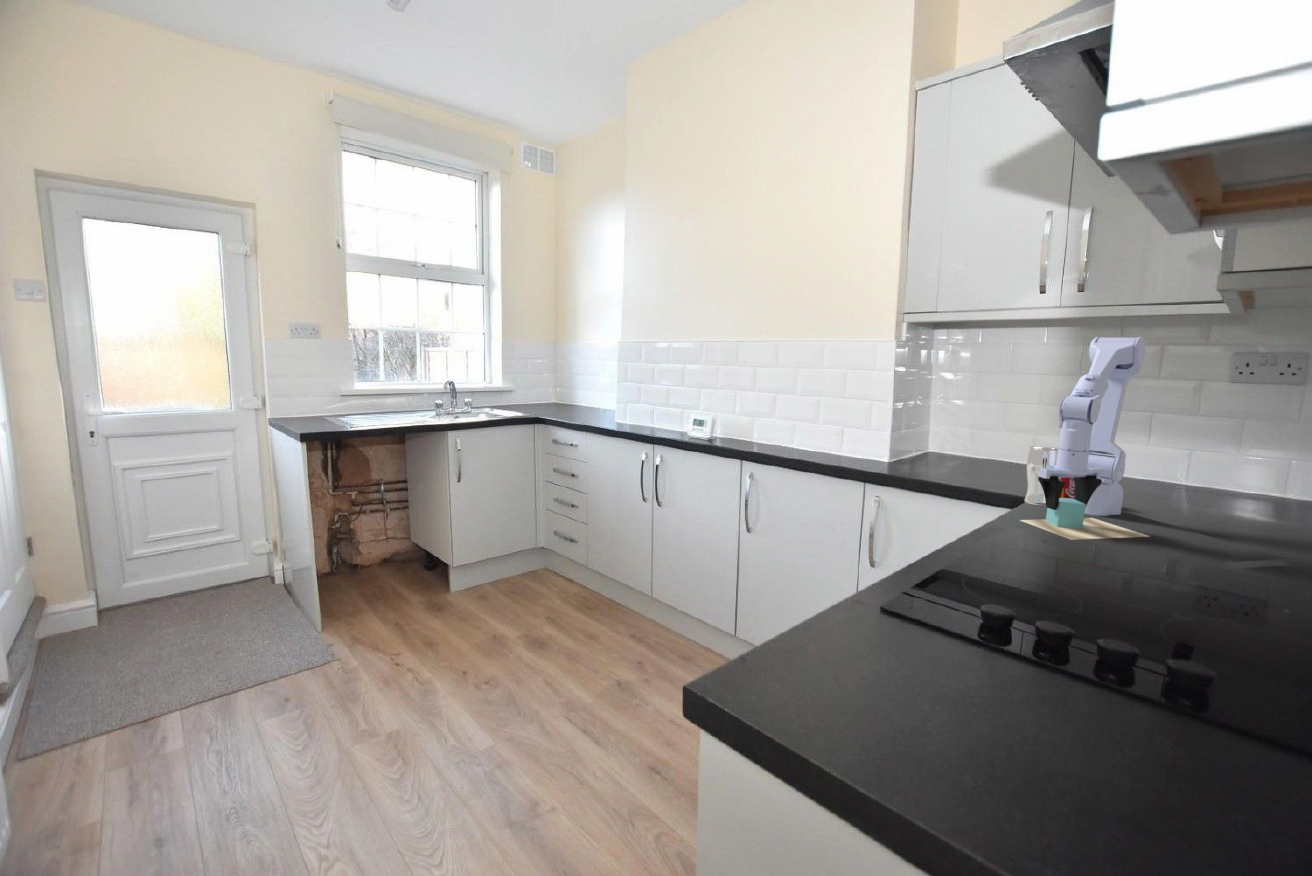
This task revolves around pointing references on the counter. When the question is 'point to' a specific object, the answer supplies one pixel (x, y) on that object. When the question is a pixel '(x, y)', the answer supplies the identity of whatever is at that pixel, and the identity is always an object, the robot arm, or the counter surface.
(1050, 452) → the beer glass
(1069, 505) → the teal foam cube
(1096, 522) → the board
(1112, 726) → the counter surface
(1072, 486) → the soda can
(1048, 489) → the robot arm
